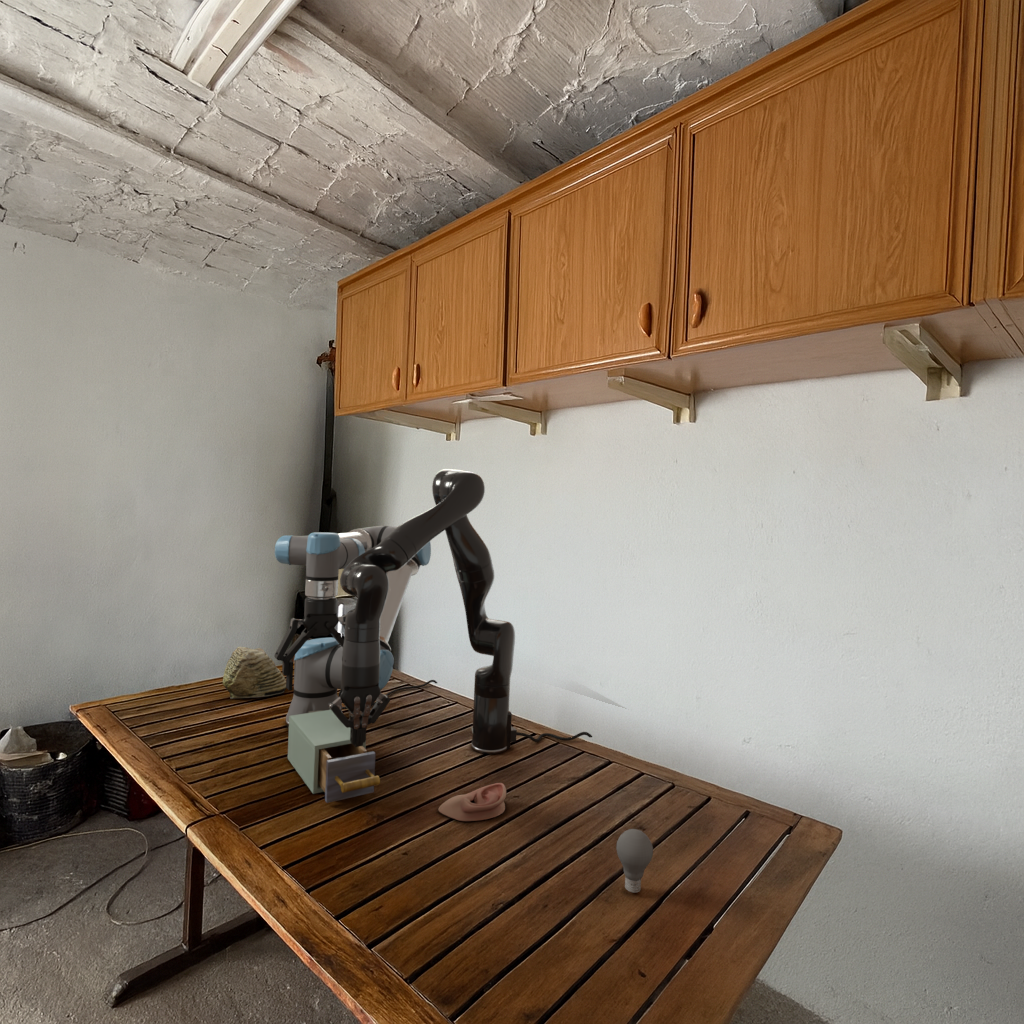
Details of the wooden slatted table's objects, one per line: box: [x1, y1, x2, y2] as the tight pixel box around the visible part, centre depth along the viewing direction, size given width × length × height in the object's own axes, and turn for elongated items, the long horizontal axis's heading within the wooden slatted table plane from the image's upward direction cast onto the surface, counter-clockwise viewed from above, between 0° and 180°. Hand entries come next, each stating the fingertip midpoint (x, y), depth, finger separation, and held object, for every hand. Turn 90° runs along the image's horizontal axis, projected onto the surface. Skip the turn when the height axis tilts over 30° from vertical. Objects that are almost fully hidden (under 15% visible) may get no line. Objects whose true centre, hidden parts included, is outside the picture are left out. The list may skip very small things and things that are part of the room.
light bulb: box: [615, 828, 654, 894], centre depth 106 cm, size 6×6×10 cm
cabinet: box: [287, 710, 367, 795], centre depth 147 cm, size 21×11×10 cm, turn 34°
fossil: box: [222, 646, 287, 699], centre depth 198 cm, size 9×18×15 cm, turn 132°
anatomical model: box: [438, 782, 507, 822], centre depth 131 cm, size 13×4×12 cm
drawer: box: [318, 743, 381, 804], centre depth 138 cm, size 26×10×8 cm, turn 34°
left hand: (318, 685), depth 152 cm, fingers open, 13 cm apart
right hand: (357, 745), depth 129 cm, fingers closed
